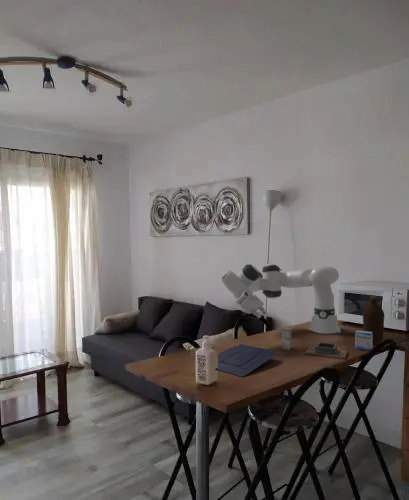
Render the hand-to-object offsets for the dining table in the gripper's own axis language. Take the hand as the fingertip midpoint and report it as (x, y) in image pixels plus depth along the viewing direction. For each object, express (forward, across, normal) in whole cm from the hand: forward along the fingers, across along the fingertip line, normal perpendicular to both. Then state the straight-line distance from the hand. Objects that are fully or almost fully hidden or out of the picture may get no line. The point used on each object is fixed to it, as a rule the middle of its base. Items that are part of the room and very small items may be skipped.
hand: (262, 315), depth 208 cm
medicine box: (+46, -15, +23) cm, 53 cm away
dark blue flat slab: (+11, +33, -12) cm, 37 cm away
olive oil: (+48, -29, +26) cm, 62 cm away
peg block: (+20, 0, -2) cm, 20 cm away
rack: (+34, +2, +12) cm, 36 cm away
